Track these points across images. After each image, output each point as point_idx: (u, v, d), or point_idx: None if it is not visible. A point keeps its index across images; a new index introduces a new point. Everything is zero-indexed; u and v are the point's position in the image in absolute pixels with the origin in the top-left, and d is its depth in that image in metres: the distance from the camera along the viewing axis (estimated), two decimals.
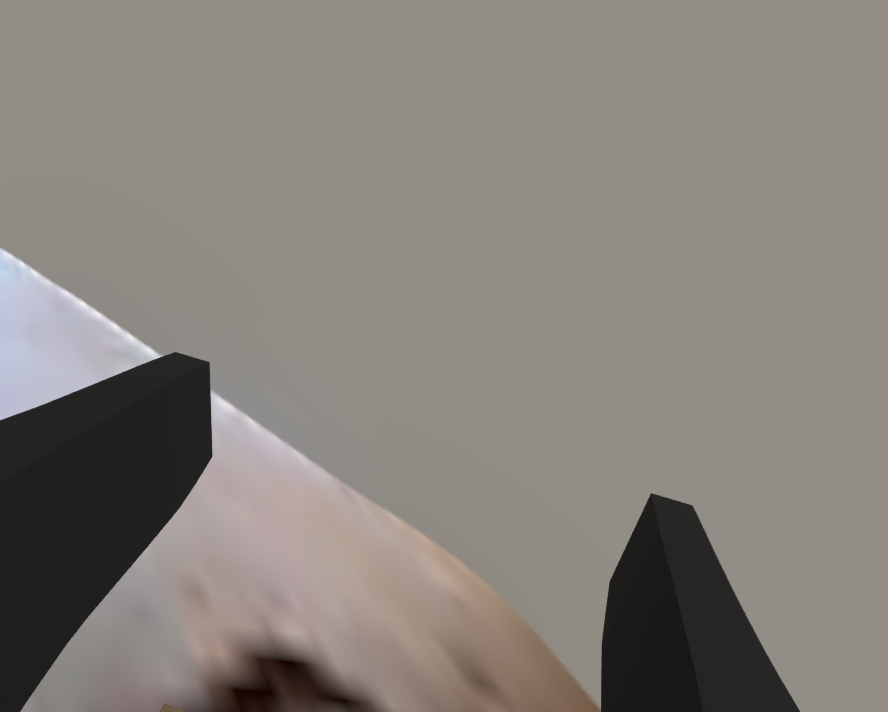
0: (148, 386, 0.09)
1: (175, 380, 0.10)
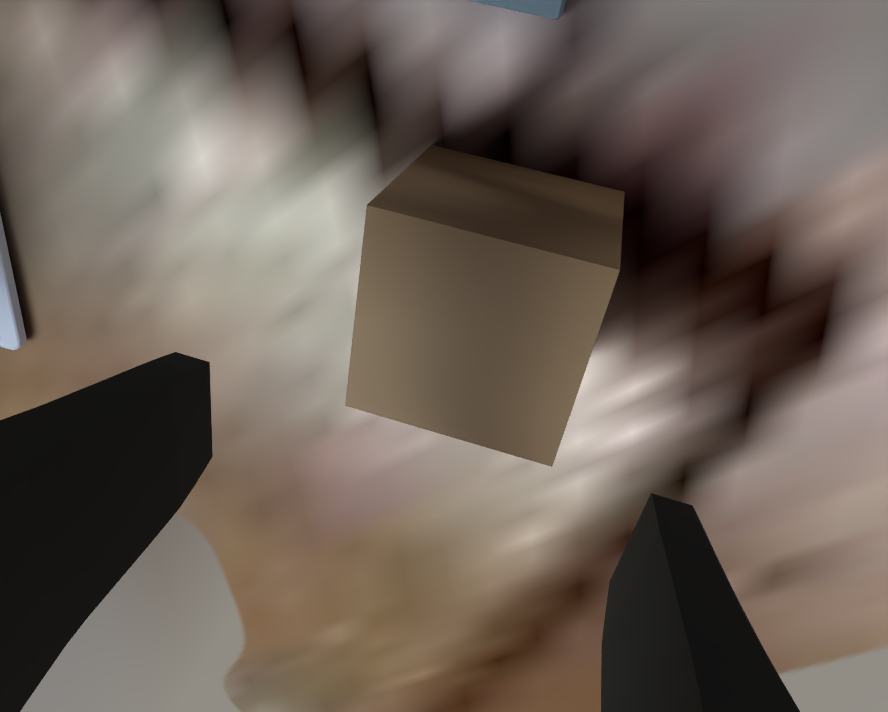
0: (148, 386, 0.09)
1: (175, 380, 0.10)
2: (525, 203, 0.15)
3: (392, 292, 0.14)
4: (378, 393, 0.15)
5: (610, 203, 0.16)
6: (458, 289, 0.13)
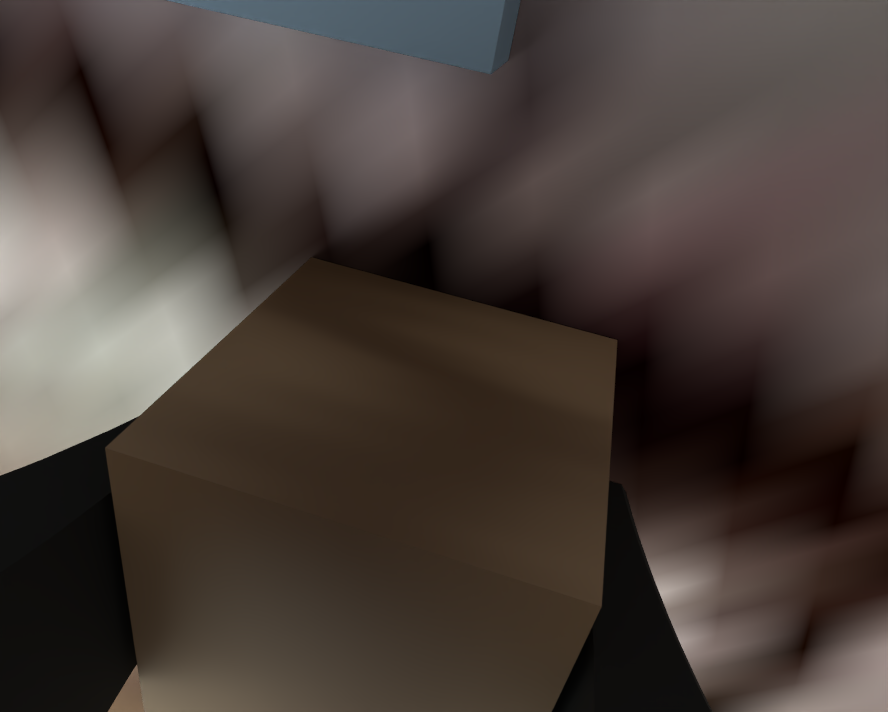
0: None
1: None
2: (438, 399, 0.08)
3: (182, 583, 0.07)
4: (193, 709, 0.09)
5: (592, 378, 0.09)
6: (295, 593, 0.07)
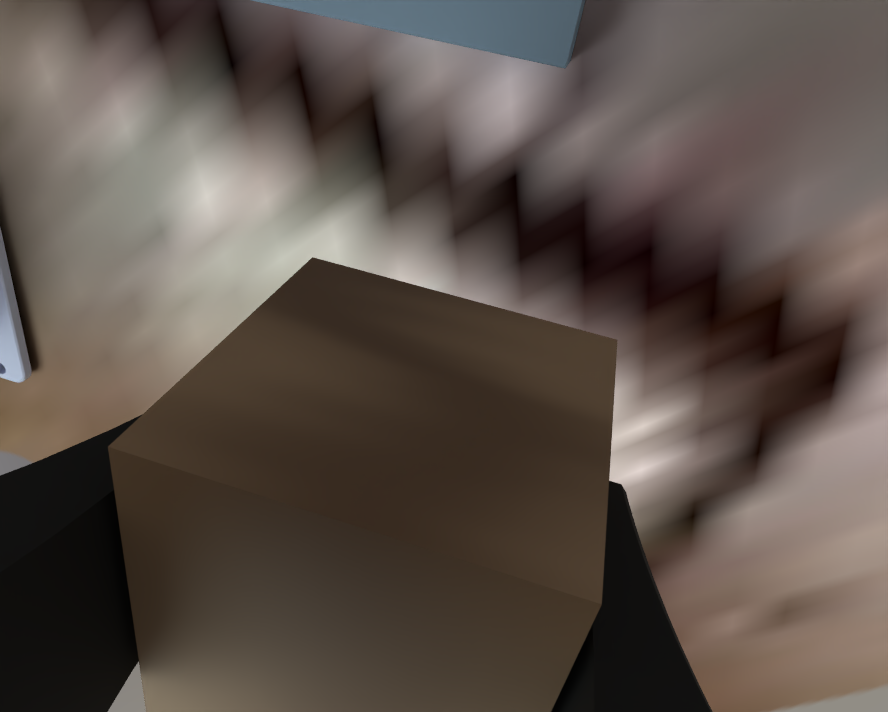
0: None
1: None
2: (438, 398, 0.08)
3: (184, 581, 0.08)
4: (194, 707, 0.09)
5: (592, 377, 0.09)
6: (297, 591, 0.07)
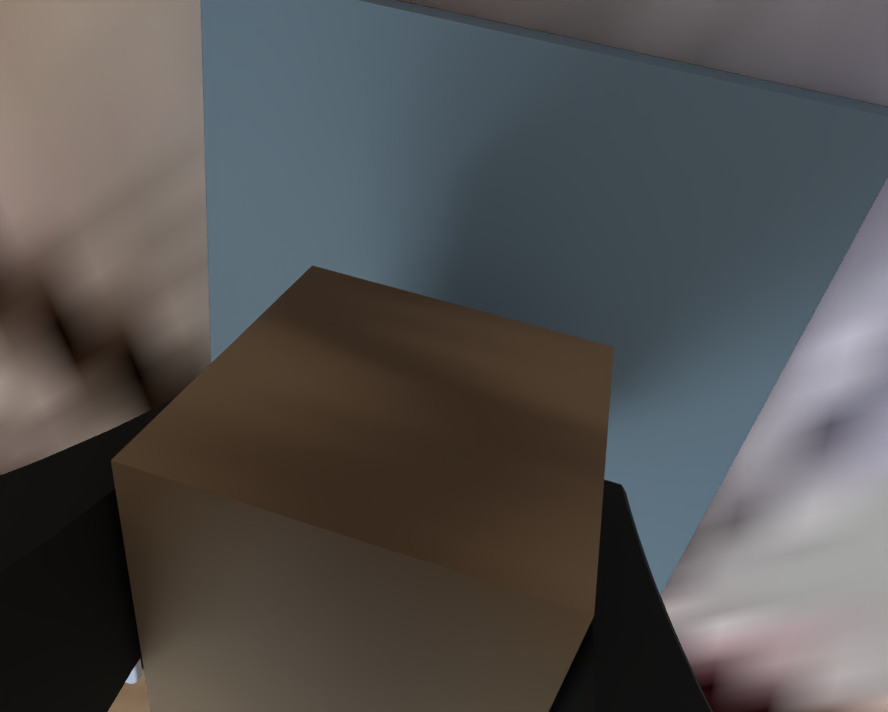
0: None
1: None
2: (435, 408, 0.08)
3: (186, 590, 0.08)
4: (198, 710, 0.09)
5: (588, 385, 0.09)
6: (297, 600, 0.07)
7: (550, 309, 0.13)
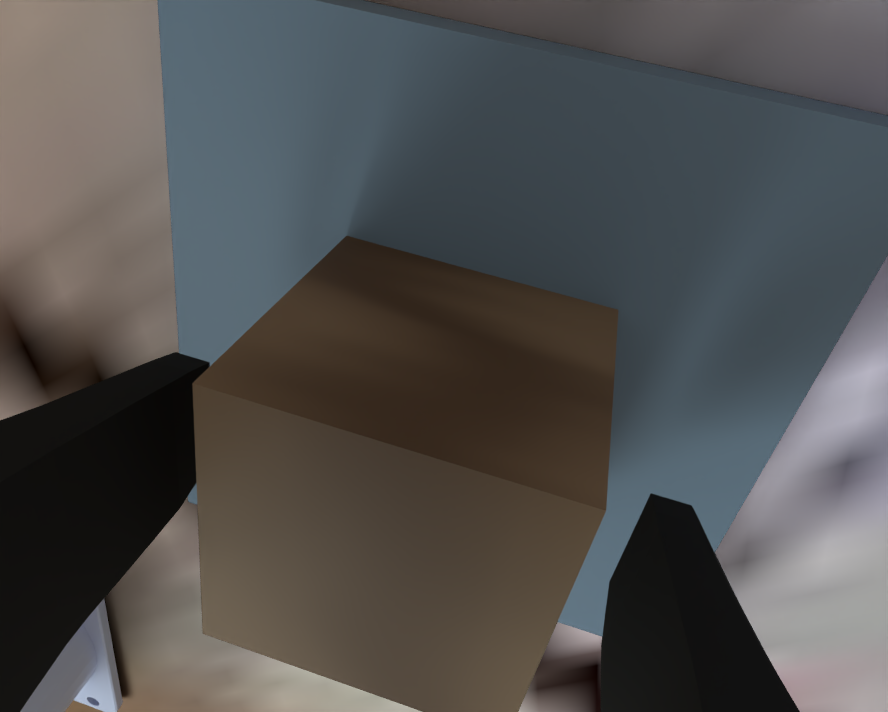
0: (148, 386, 0.09)
1: (175, 380, 0.10)
2: (465, 353, 0.10)
3: (248, 504, 0.09)
4: (247, 625, 0.10)
5: (596, 339, 0.10)
6: (346, 510, 0.08)
7: None
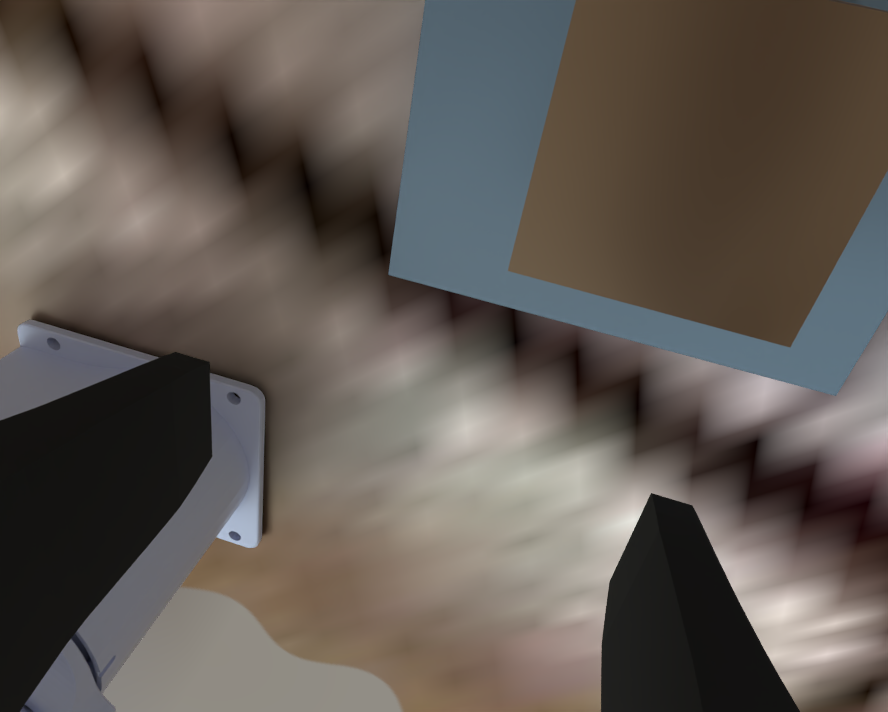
0: (148, 386, 0.09)
1: (175, 380, 0.10)
2: None
3: (603, 92, 0.10)
4: (559, 249, 0.12)
5: (861, 5, 0.12)
6: (703, 79, 0.10)
7: None
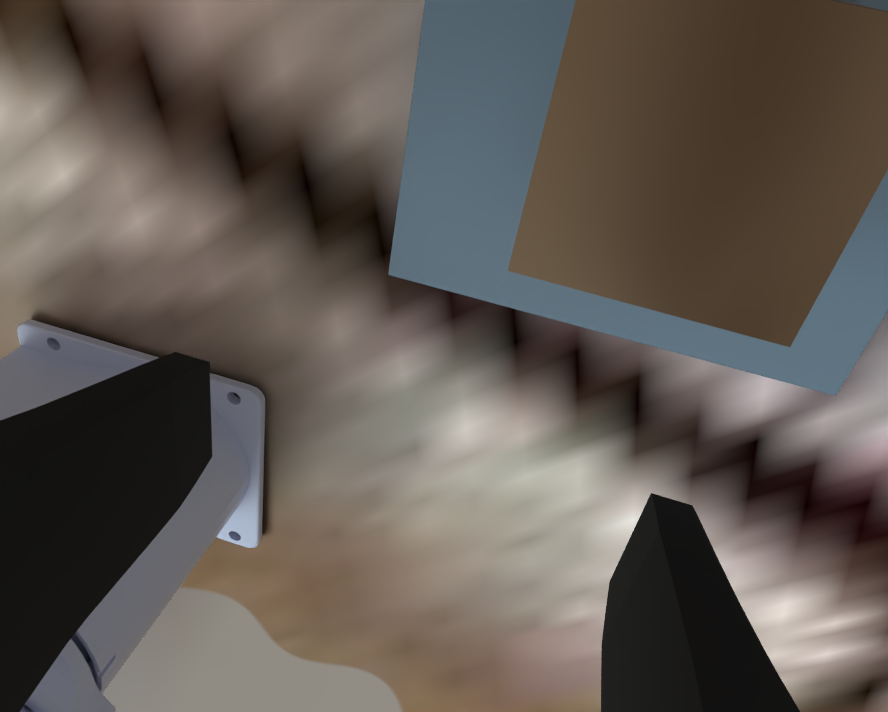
0: (148, 386, 0.09)
1: (175, 380, 0.10)
2: None
3: (603, 92, 0.10)
4: (559, 249, 0.12)
5: (861, 5, 0.12)
6: (703, 79, 0.10)
7: None
